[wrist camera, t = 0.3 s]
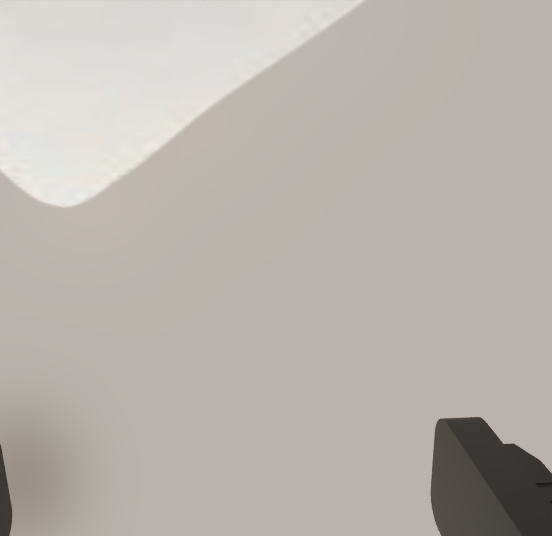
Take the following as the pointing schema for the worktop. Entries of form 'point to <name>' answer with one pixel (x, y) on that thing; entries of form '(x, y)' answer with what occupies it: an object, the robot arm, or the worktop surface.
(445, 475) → the robot arm
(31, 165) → the worktop surface
